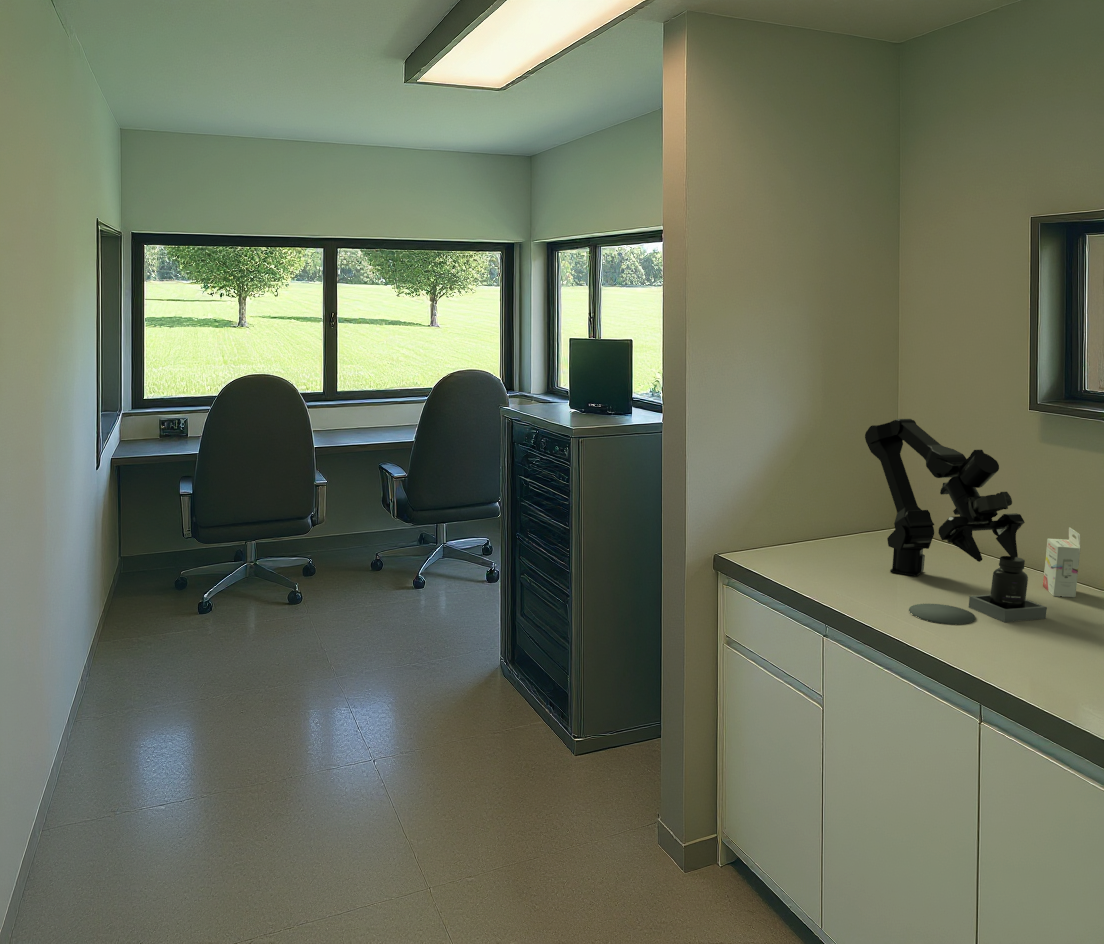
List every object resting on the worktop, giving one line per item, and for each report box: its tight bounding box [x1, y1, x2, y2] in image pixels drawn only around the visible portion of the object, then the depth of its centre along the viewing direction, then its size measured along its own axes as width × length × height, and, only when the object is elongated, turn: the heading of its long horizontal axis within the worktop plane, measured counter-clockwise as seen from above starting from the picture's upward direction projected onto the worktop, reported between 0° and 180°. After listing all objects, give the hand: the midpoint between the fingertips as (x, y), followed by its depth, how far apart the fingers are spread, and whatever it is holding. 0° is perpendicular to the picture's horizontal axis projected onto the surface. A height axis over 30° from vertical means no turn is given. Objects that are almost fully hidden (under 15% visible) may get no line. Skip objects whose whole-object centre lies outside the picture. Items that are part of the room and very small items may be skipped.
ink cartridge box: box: [1042, 526, 1081, 598], centre depth 218 cm, size 9×5×15 cm, turn 168°
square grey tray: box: [968, 593, 1048, 623], centre depth 203 cm, size 11×11×2 cm
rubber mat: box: [908, 603, 976, 625], centre depth 201 cm, size 13×13×1 cm
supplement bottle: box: [990, 555, 1029, 609], centre depth 202 cm, size 7×7×12 cm
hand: (998, 559), depth 205 cm, fingers open, 9 cm apart
